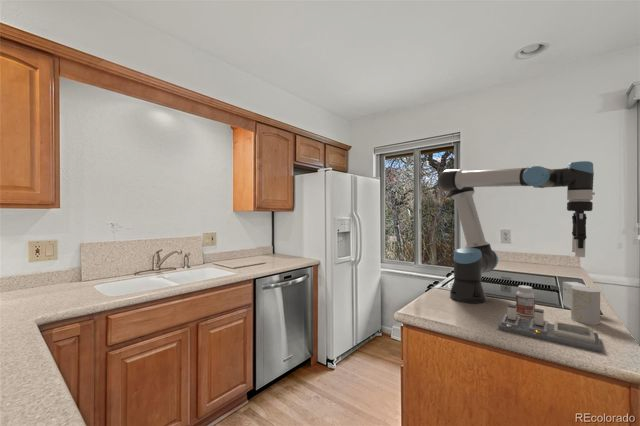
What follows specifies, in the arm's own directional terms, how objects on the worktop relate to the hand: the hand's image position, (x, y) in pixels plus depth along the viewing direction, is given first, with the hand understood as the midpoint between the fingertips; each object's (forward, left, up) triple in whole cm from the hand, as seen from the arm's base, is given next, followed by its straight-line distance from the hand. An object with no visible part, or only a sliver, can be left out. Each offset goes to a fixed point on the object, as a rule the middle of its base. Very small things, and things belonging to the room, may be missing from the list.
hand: (578, 254), depth 114 cm
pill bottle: (-16, -12, -24) cm, 32 cm away
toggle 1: (-19, -26, -22) cm, 39 cm away
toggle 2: (-11, -26, -22) cm, 36 cm away
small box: (0, +9, -24) cm, 26 cm away
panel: (-9, -30, -24) cm, 39 cm away
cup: (+2, -6, -24) cm, 25 cm away
